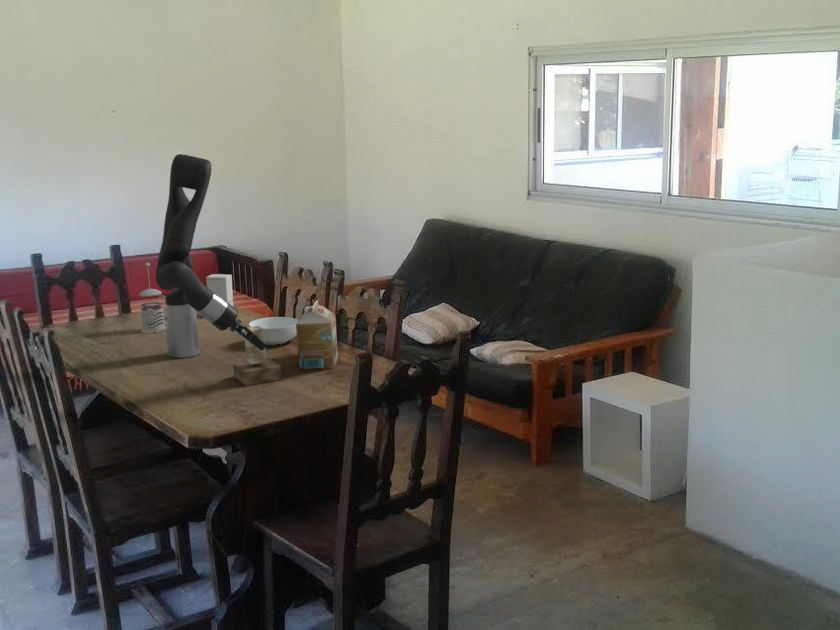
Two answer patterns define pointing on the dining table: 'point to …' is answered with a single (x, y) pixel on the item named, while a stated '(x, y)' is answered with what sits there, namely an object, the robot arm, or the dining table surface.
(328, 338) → the milk carton
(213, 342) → the dining table surface
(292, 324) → the cereal bowl
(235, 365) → the walnut base
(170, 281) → the robot arm
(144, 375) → the dining table surface
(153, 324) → the french press
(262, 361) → the beech block
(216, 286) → the skincare box
